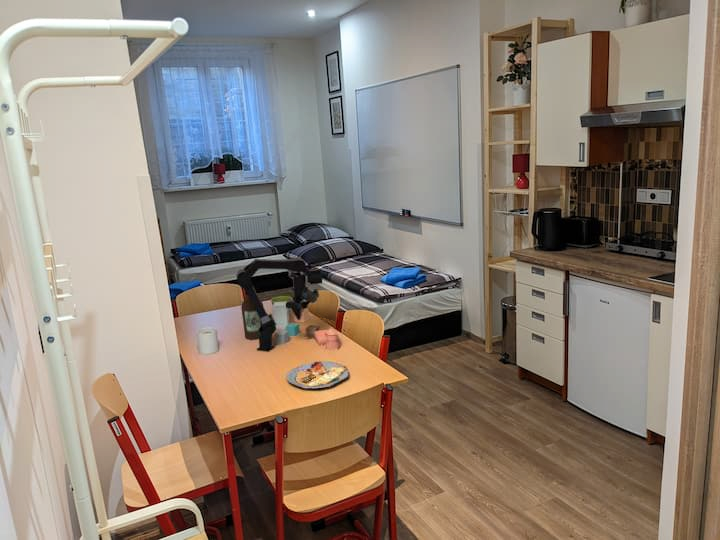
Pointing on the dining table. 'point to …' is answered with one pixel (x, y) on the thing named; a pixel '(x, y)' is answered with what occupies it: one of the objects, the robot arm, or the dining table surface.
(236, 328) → the dining table surface
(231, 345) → the dining table surface
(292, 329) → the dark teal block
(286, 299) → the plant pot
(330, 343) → the pottery
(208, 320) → the dining table surface
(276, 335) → the slate grey block
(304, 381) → the food plate
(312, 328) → the walnut block
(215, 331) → the mug
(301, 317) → the terracotta block
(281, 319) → the supplement box
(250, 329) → the olive oil
